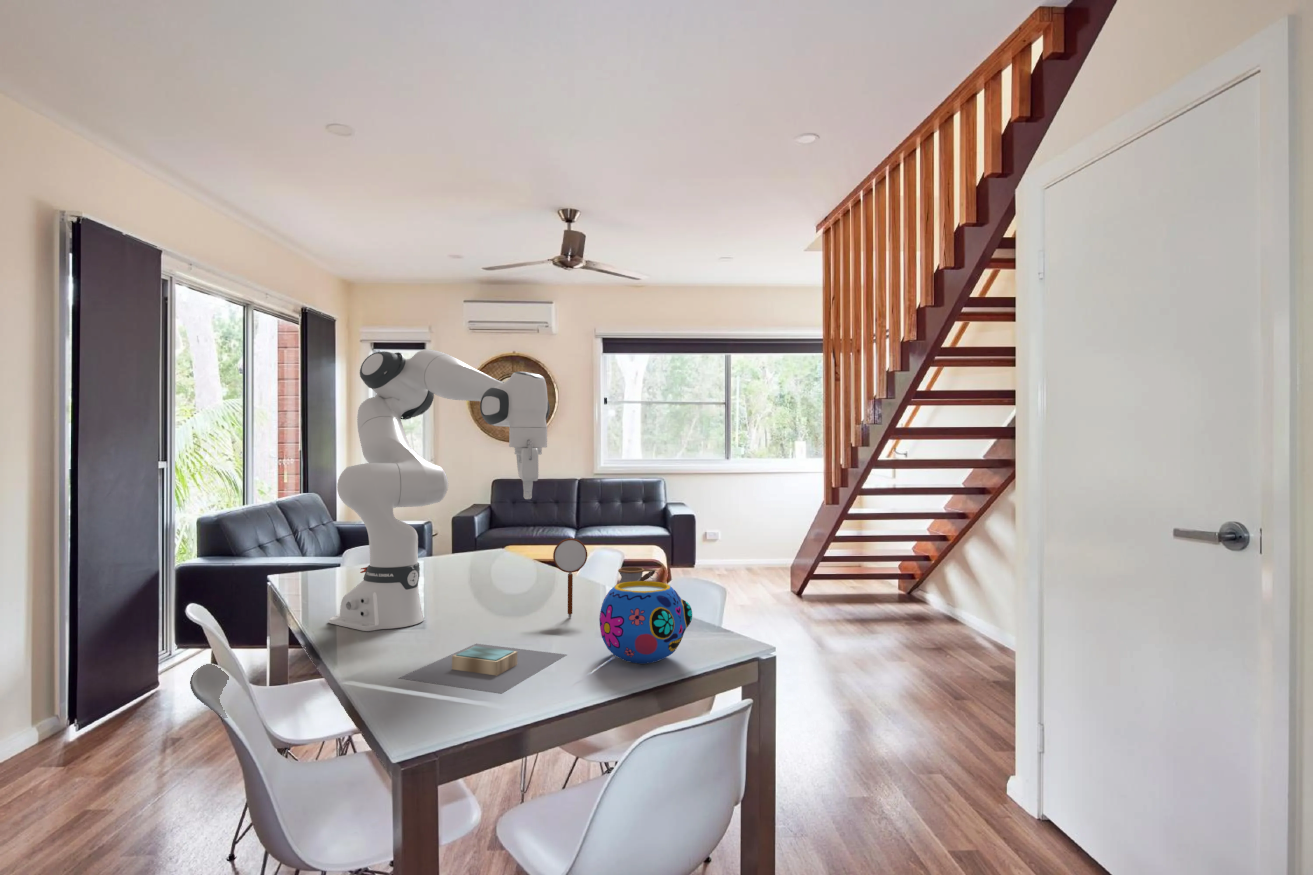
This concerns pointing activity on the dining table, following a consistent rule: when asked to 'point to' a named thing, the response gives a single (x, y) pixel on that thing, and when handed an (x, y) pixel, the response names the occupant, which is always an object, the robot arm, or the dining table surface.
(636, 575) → the coffee pot
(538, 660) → the rubber mat
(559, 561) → the magnifying glass
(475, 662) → the birch tile
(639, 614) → the ceramic pot
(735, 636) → the dining table surface
